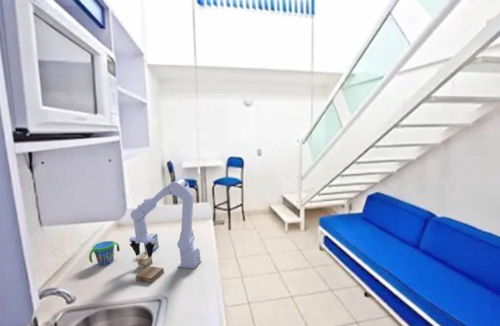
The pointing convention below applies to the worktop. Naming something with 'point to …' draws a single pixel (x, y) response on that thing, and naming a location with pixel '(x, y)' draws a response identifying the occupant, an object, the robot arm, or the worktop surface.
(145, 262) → the maple cube
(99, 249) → the snack cup
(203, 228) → the worktop surface
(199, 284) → the worktop surface
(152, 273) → the walnut block
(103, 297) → the worktop surface
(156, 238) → the medicine box
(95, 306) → the worktop surface
